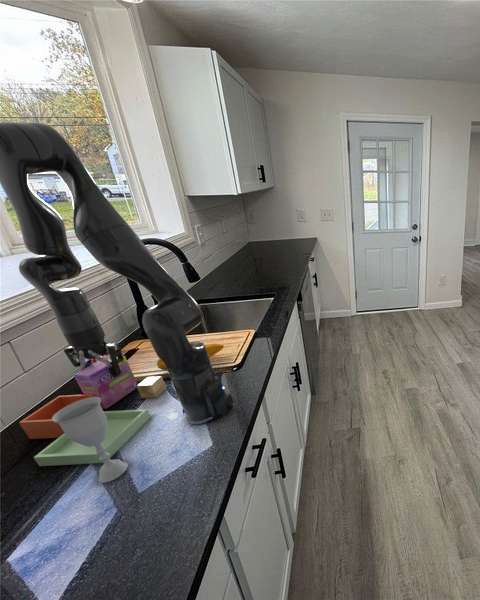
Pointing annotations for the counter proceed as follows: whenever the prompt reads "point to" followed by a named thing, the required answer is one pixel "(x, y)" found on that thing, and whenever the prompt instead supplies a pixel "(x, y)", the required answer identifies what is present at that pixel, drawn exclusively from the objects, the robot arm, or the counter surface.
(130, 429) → the tray
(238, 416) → the counter surface
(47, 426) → the bin
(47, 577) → the counter surface
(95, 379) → the box
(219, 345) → the corn
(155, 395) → the block
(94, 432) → the chalice
